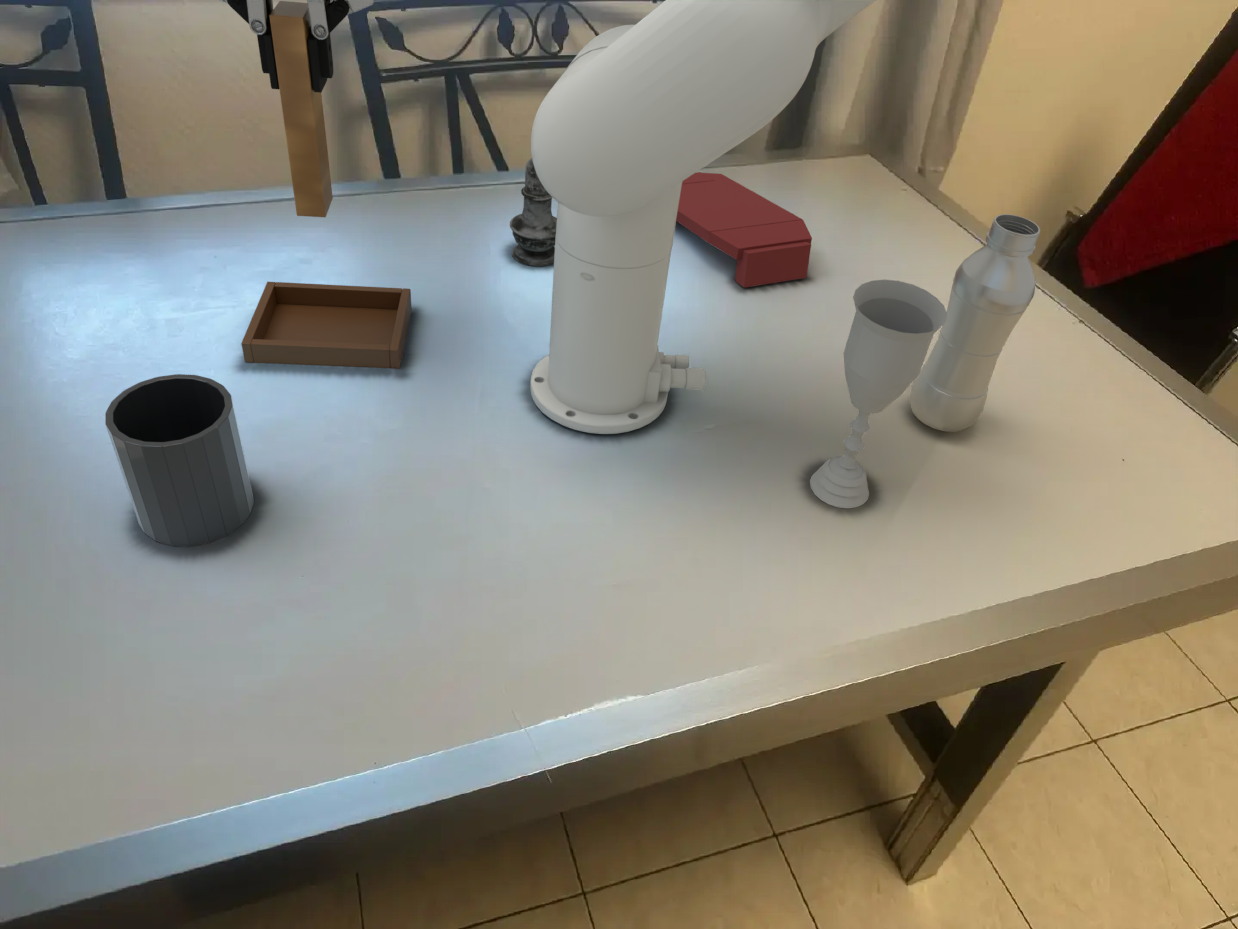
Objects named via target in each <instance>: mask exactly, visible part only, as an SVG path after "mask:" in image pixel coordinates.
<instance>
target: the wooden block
mask: <svg viewBox="0 0 1238 929" xmlns="http://www.w3.org/2000/svg"><path fill="white" fill-rule="evenodd" d="M270 24H271V31H272V38H273V45H274V53H275V60H276V67H277V75H278V82H279V89H278V90H279V97H280V103H281V110H282V118H283V124H284V132H285V140H286V146H287V154H288V155H287V156H288V161H289V169H290V176H291V183H292V191H293V198H294V205H295V212H296V216H297V217H312V218H326V217H327V215H328V213H329V209H330V207H331V204H332V201H333V199H334V197H333V196H334V195H333V187H332V178H331V169H330V160H329V152H328V150H329V149H328V142H327V132H326V125H325V124H326V123H325V115H324V104H323V96H322V92H321V93H320V92H314V90H312V85H311V77H310V68H309V59H308V50H307V39H308V37H309V36H310V33H309V28H310V26H311V23H310V16H309V10H308V3H307V2H299V1H289V0H279V1H278V2H277V4H276V5H275V7H273V11H272V12H271V14H270Z"/></svg>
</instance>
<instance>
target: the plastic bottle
mask: <svg viewBox="0 0 1238 929" xmlns="http://www.w3.org/2000/svg"><path fill="white" fill-rule="evenodd" d="M990 225H991V226H990V229H989V230H988V231H987V233H986V235H985V238H984V239H985V242H986V244H985V245H983V246H982V247H980V248H979V249H977V250H975V251H974V252H973V253H971V254H970V255H969V256H968V257H966V258H965V259H964V260H962V262H961V263H960V265H959V266H958V267H957V268H956V270H955V272H954V276H953V280H952V286H951V289H950V293H949V297H948V298H949V299H948V303H947V308H946V312H947V318H946V322H945V323H944V324H943V325H942V327H941V328H940V329H939V334H938V336H937V340H936V341H935V343H934V345H933V347H932V349H931V350H930V353H929V356H928V357H927V359H926V361H925V363H924V364H923V365H922V367H921V370H920V373H919V375H918V376H917V377H916V378H915V379H914V381H913V382H912V383H911V386H910V393H909V397H908V398H909V399H908V402H909V406H910V409H911V412H912V414H913V415H914V417H915V418H916V419H918V420H919V421H920V422H921V423H923V424H924V425H925V426H927V427H929V428H932V429H934V430H937V431H940V432H947V433H956V432H960V431H964V430H965V429H967V428H969V427H971V426H973V425H974V424H975V423H976V421H977V420H978V418H979V417H980V416H981V414H982V413H983V411H984V408H985V404H986V401H987V397H988V394H989V385H990V382H991V379H992V376H993V373H994V371H995V367H996V365H997V362H998V359H999V356H1000V355H1001V353H1002V351H1003V348H1004V347H1005V345H1006V343H1007V341H1008V339H1009V337H1010V335H1011V334H1012V332H1013V330H1014V328H1015V327H1016V325H1017V324H1018V322H1019V321H1020V320H1021V318H1022V316H1023V315H1024V313H1025V312H1026V310H1027V308H1028V307H1029V306H1030V303H1031V302H1032V300H1033V298H1034V296H1035V292H1036V277H1035V274H1034V269H1033V267H1032V264H1031V262H1030V261H1031V260H1030V259H1029V257H1030V256H1031V255H1033V254H1034V253H1035V250H1036V247H1037V245H1036V244H1037V242H1038V239H1039V236H1040V234H1041V228H1040V226H1039V225H1038V224H1037V223H1036V222H1034V221H1032V220H1031V219H1029V218H1027V217H1023V216H1020V215H1017V214H1009V213H1001V214H998V215H996V216H995V217H994V218H993V220H992V223H991V224H990Z"/></svg>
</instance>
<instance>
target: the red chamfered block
mask: <svg viewBox="0 0 1238 929" xmlns="http://www.w3.org/2000/svg"><path fill="white" fill-rule="evenodd" d="M676 223H679V224H680V225H681V226H683V227H684V228H686V230H689V231H690V232H691V233H693V234H694V235H696V236H698V237H699V238H700V239H701V240H703V241H705V243H708V244H710V245H711V246H713V247H714V248H716V249H718V250H719V251H721V252H723V253H724V254H726V255H728V256H730V257H731V258H733V259H734V260H736V265H735V267H736V268H735V277H734V281H735V282H736V283H737V284H738V285H740V286H741V287H743V288H750V287H751V288H752V287H755V286H763V285H768V284H776V283H781V282H782V283H783V282H787V281H795V280H802V279H806V278H808V271H809V263H810V257H811V256H810V255H811V249H812V240H813V237H812V235H811V232H810V231H809V228H808V227H807V225H806V222H805V221H804V219H802V218H801V217H799V216H798V215H796V214H794V213H792V212H790V211H789V210H787V209H785V208H783V207H781V206H780V205H778V204H776V203H775V202H772V201H771V200H769V199H767V198H766V197H764V196H762V195H761V194H758V193H756V191H753V190H751V189H749V188H748V187H746V186H745V185H742V184H740V183H739V182H737V181H735V180H734V179H732V178H729V177H728V176H726V175H724V174H723V173H714V172H701V171H697V172H696V173H694V174H693V175H691V176H690V177H688V178H687V179H685V180H683V181H682V187H681V193H680V199H679V205H678V211H677V218H676Z"/></svg>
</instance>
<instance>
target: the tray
mask: <svg viewBox="0 0 1238 929" xmlns="http://www.w3.org/2000/svg"><path fill="white" fill-rule="evenodd" d="M411 291H412V290H411V288H405V287H403V288H402V287H386V286H385V287H382V286H365V285H345V284H344V285H342V284H322V283H303V282H282V281H266V284H265V287H264V289H263V291H262V293H261V296H260V298H259V301H258V303H257V305H256V308H255V310H254V312H253V315H252V317H251V320H250V321H249V324H248V326H247V329H246V332H245V334H244V336H243V338H242V341H241V343H240V345H241V348H242V355H243V359H244V362H245V363H247V364H250V363H251V364H271V365H272V364H273V365H277V364H278V365H295V366H296V365H297V366H318V367H319V366H320V367H321V366H323V367H345V368H348V367H349V368H372V369H393V370H394V369H395V370H399V369H400V368H401V362H402V361H403V358H404V353H405V347H406V343H407V337H408V334H409V327H410V321H411V317H412V312H413V309H412V293H411Z"/></svg>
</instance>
